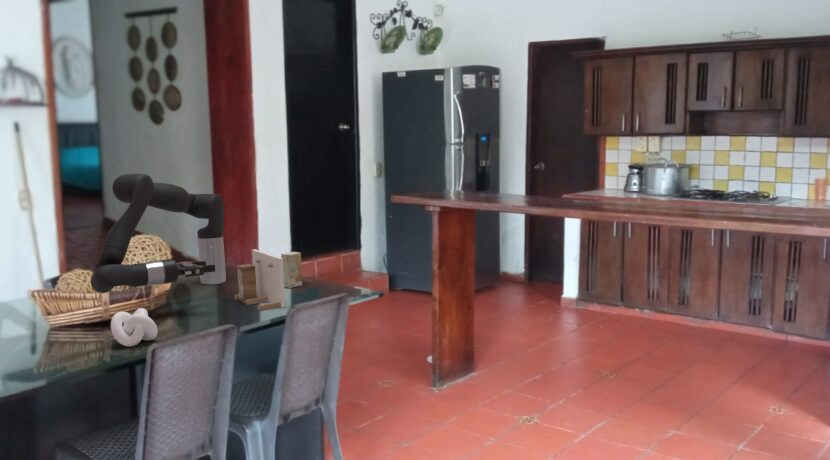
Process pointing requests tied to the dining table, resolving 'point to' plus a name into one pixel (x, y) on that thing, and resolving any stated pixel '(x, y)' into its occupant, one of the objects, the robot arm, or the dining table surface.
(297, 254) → the skincare box
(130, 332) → the white knot sculpture
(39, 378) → the dining table surface
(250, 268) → the frame block
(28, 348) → the dining table surface
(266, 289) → the white upright flat panel
